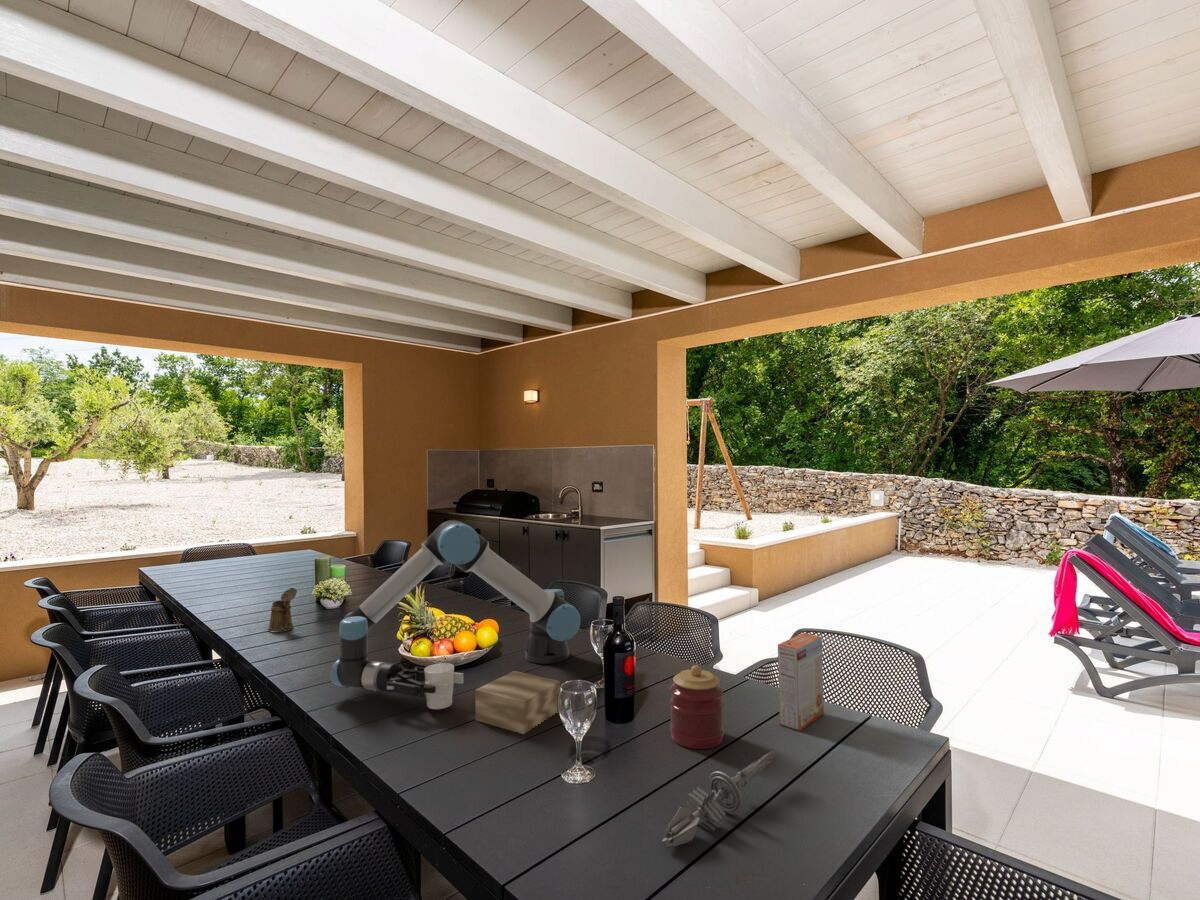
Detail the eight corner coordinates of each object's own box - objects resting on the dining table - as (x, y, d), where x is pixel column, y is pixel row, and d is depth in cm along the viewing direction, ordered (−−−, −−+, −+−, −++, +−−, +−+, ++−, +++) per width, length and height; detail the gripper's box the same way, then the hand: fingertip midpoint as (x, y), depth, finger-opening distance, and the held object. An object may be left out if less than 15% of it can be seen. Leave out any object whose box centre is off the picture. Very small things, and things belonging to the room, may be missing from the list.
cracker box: (803, 708, 162) (802, 631, 162) (824, 715, 158) (823, 636, 158) (777, 724, 152) (776, 643, 153) (799, 732, 148) (798, 648, 148)
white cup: (446, 711, 158) (446, 673, 158) (419, 709, 160) (418, 672, 160) (459, 699, 166) (458, 663, 166) (433, 697, 168) (432, 662, 168)
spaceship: (796, 751, 123) (764, 725, 128) (687, 843, 99) (653, 806, 105) (785, 779, 125) (754, 753, 131) (677, 875, 102) (644, 838, 107)
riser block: (514, 698, 170) (514, 670, 170) (560, 710, 162) (559, 681, 162) (475, 720, 156) (475, 689, 156) (523, 734, 148) (523, 702, 148)
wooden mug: (280, 635, 233) (280, 589, 233) (263, 630, 240) (263, 585, 241) (302, 630, 240) (302, 585, 240) (285, 625, 248) (286, 582, 248)
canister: (660, 731, 149) (660, 661, 149) (704, 722, 154) (703, 654, 154) (688, 755, 137) (687, 678, 137) (734, 744, 142) (733, 670, 143)
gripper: (404, 676, 178) (473, 683, 171) (359, 704, 158) (435, 713, 152) (404, 651, 178) (473, 657, 172) (358, 676, 158) (434, 684, 152)
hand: (455, 684), depth 162 cm, fingers closed on white cup, 8 cm apart
